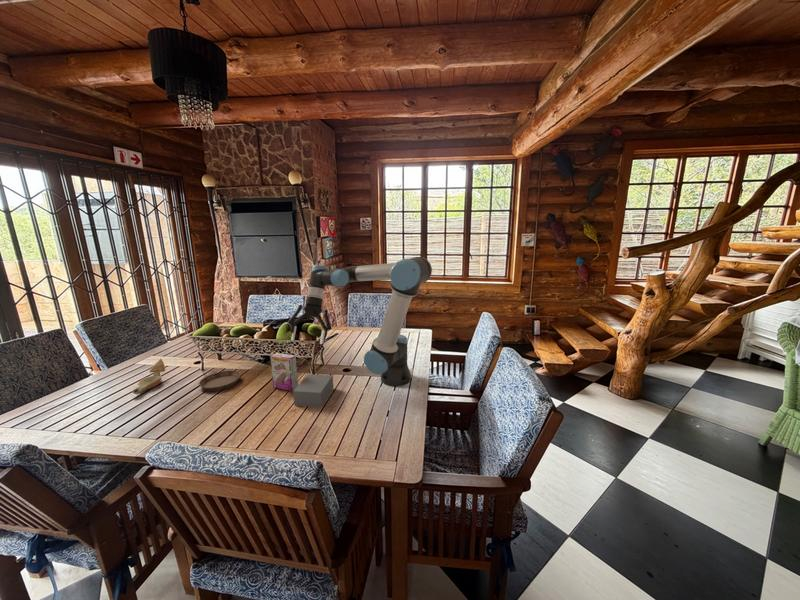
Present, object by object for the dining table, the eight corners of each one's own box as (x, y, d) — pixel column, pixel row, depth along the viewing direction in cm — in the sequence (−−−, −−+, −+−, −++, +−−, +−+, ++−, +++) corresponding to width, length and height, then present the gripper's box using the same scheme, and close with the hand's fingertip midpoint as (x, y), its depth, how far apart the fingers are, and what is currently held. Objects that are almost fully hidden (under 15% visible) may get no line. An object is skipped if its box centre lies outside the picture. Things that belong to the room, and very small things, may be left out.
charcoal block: (333, 388, 151) (332, 375, 149) (321, 407, 135) (320, 392, 134) (309, 387, 152) (308, 374, 151) (294, 405, 137) (293, 391, 135)
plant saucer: (191, 387, 153) (190, 382, 152) (226, 373, 168) (225, 367, 167) (214, 396, 145) (213, 390, 144) (248, 380, 160) (247, 374, 159)
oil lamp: (173, 376, 164) (169, 358, 162) (145, 397, 144) (140, 377, 141) (155, 377, 164) (151, 359, 161) (124, 399, 143) (119, 378, 141)
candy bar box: (272, 388, 151) (269, 356, 148) (279, 383, 156) (276, 352, 152) (292, 392, 148) (289, 359, 144) (299, 387, 152) (296, 355, 149)
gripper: (336, 303, 160) (330, 345, 157) (286, 292, 147) (277, 338, 144) (342, 302, 154) (335, 345, 150) (290, 291, 141) (281, 339, 138)
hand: (307, 342), depth 147 cm, fingers open, 13 cm apart
